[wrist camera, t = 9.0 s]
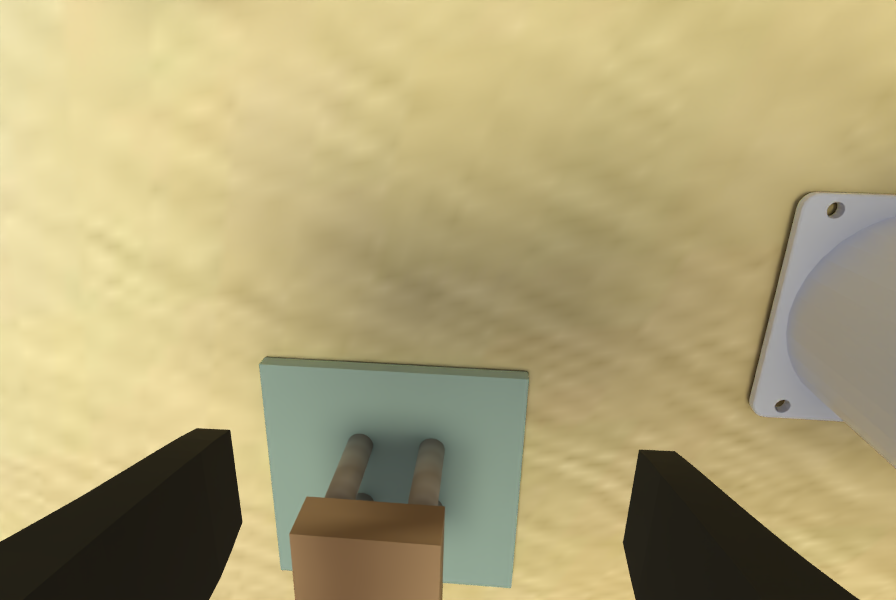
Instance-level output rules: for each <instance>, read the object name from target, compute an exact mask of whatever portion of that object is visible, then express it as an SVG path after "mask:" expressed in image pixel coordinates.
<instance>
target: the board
mask: <svg viewBox="0 0 896 600" xmlns="http://www.w3.org/2000/svg"><path fill="white" fill-rule="evenodd" d="M259 368H260V377H261V387H262V396H263V405H264V415H265V424H266V434H267V443H268V452H269V462H270V471H271V481H272V490H273V499H274V509H275V518H276V528H277V537H278V546H279V556H280V565H281V570H289V571H293V570H292V559H291V549H290V538H289V533H290V531H291V529H292V527H293V525H294V522H295V520H296V518H297V516H298V514H299V512H300V509H301V507H302V505H303V503H304V501H305V499H306V497H307V496H308V497H322V498H324V497H325V495H326V493H327V490H328V488H329V485H330V483H331V481H332V478H333V476H334V473H335V471H336V469H337V466H338V464H339V461H340V459H341V457H342V454H343V452H344V449H345V447H346V445H347V442H348V440H349V438H350V437H351V436H352V435H354V434H364V435H366V436H368V437H369V438H370V439H371V440H372V442H373V449H372V452H371V455H370V458H369V461H368V464H367V467H366V470H365V473H364V476H363V479H362V482H361V485H360V488H359V490H358V493H366V494H368V495H370V496H371V497H372V498H373V500H374V501H377V502H390V503H404V504H408V500H409V495H410V490H411V485H412V480H413V475H414V470H415V465H416V460H417V456H418V451H419V446H420V444H421V443H422V442H423V441H424V440H426V439H430V438H433V439H437V440H439V441H440V442H441V443H442V444H443V445H444V447H445V453H444V461H443V469H442V476H441V484H440V492H439V501H440V502H441V503H442V505H443V506H445V525H444V557H443V583H453V584H466V585H478V586H491V587H503V588H511V583H512V572H513V560H514V548H515V536H516V525H517V513H518V501H519V490H520V478H521V466H522V454H523V443H524V431H525V419H526V408H527V396H528V384H529V377H528V372H523V371H505V370H487V369H469V368H451V367H433V366H415V365H397V364H379V363H361V362H343V361H325V360H307V359H289V358H271V357H265V358H264V359H263V360H262V362H261V363H260V364H259Z"/></svg>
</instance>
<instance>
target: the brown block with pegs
mask: <svg viewBox="0 0 896 600" xmlns="http://www.w3.org/2000/svg"><path fill="white" fill-rule="evenodd" d="M372 449H373V442H372V440H371V439H370V438H369V437H368V436H366V435H364V434H354V435H352V436H351V437H350V438H349V440H348V442H347V445H346V447H345V449H344V452H343V454H342V457H341V459H340V461H339V464H338V466H337V469H336V471H335V473H334V476H333V478H332V481H331V483H330V485H329V488H328V490H327V493H326V495H325V497H324V498H322V497H308V496H307V497H306V499H305V501H304V503H303V505H302V507H301V509H300V512H299V514H298V516H297V518H296V520H295V522H294V525H293V527H292V529H291V531H290V533H289V538H290V549H291V559H292V570H293V581H294V592H295V600H442V588H443V557H444V525H445V506H443V505H442V503H441V502H440V501H439V492H440V484H441V476H442V469H443V461H444V453H445V447H444V445H443V444H442V443H441V442H440V441H439V440H437V439H433V438H430V439H426V440H424V441H423V442H422V443H421V444H420V446H419V451H418V456H417V460H416V465H415V470H414V475H413V480H412V485H411V490H410V495H409V500H408V504H404V503H390V502H377V501H374V500H373V498H372V497H371V496H370V495H368V494H366V493H358V490H359V488H360V485H361V482H362V479H363V476H364V473H365V470H366V467H367V464H368V461H369V458H370V455H371V452H372Z"/></svg>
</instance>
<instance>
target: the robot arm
mask: <svg viewBox="0 0 896 600" xmlns="http://www.w3.org/2000/svg"><path fill="white" fill-rule="evenodd" d="M834 202H836V203H837V210H836V212H835V213H834V214H832V215H830V216H828V215H827V209H828V207H829V206H830V205H831V204H832V203H834ZM780 400H785V402H784V403H783V404H782V405H781V406H779V407H775V405H776V403H777V402H779V401H780ZM749 405H750V407H751V409H752V410H753V411H754V412H755V413H756V414H758V415H759V416H763V417H775V418H792V419H809V420H826V421H843V422H845V423H846V424H847V425H848V426H849V427H851V428H852V429H853V430H854V431H855V432H856V433H857V434H858V435H859V436H860V437H862V438H863V439H864V440H865V441H866V442H867V443H868V444H869V445H870V446H871V447H873V448H874V449H875V450H876V451H877V452H878V453H879V454H880V455H881V456H882V457H884V458H885V459H886V460H887V461H888V462H889V463H890V464H891V465H892V466H893V467H895V468H896V195H895V194H867V193H838V192H812V193H809V194H807V195H805V196H804V197H803V198H802V199H801V200H800V201H799V203H798V205H797V208H796V212H795V216H794V220H793V224H792V228H791V232H790V237H789V241H788V245H787V249H786V253H785V257H784V261H783V265H782V269H781V273H780V277H779V281H778V285H777V289H776V293H775V297H774V301H773V306H772V310H771V314H770V318H769V322H768V326H767V330H766V334H765V338H764V342H763V346H762V350H761V354H760V358H759V362H758V366H757V370H756V374H755V379H754V383H753V387H752V391H751V395H750V399H749ZM241 525H242V515H241V508H240V500H239V493H238V485H237V478H236V470H235V463H234V455H233V447H232V440H231V432H230V430H220V429H200V428H196V429H195V430H193V431H191V432H189V433H187V434H185V435H183V436H181V437H179V438H178V439H176V440H174V441H173V442H171V443H169V444H167V445H166V446H164V447H162V448H161V449H159V450H157V451H156V452H154V453H152V454H151V455H149V456H147V457H146V458H144V459H143V460H141V461H139V462H138V463H136V464H134V465H133V466H131V467H129V468H128V469H126V470H124V471H123V472H121V473H119V474H118V475H116V476H114V477H113V478H111V479H109V480H108V481H106V482H104V483H103V484H101V485H99V486H98V487H96V488H95V489H93V490H91V491H90V492H88V493H86V494H85V495H83V496H81V497H79V498H78V499H76V500H74V501H72V502H71V503H69V504H67V505H65V506H63V507H62V508H60V509H58V510H56V511H55V512H53V513H51V514H49V515H47V516H46V517H44V518H42V519H40V520H39V521H37V522H35V523H33V524H31V525H30V526H28V527H26V528H24V529H22V530H21V531H19V532H17V533H15V534H14V535H12V536H10V537H8V538H6V539H5V540H3V541H1V542H0V600H209V599H210V597H211V595H212V593H213V591H214V589H215V587H216V585H217V583H218V582H219V580H220V578H221V575H222V573H223V570H224V568H225V566H226V563H227V561H228V558H229V556H230V553H231V551H232V548H233V546H234V543H235V540H236V538H237V535H238V532H239V530H240V527H241ZM623 545H624V550H625V554H626V559H627V564H628V568H629V573H630V578H631V582H632V586H633V590H634V594H635V599H636V600H859V599H858V598H856V597H855V596H853V595H852V594H851V593H849V592H848V591H847V590H845V589H844V588H843V587H841V586H840V585H839V584H837V583H836V582H835V581H833V580H832V579H831V578H829V577H828V576H827V575H825V574H824V573H823V572H821V571H820V570H819V569H818V568H816V567H815V566H814V565H812V564H811V563H810V562H808V561H807V560H806V559H804V558H803V557H802V556H801V555H799V554H798V553H797V552H796V551H794V550H793V549H792V548H790V547H789V546H788V545H787V544H785V543H784V542H783V541H782V540H780V539H779V538H778V537H777V536H776V535H774V534H773V533H772V532H771V531H769V530H768V529H767V528H766V527H765V526H763V525H762V524H761V523H760V522H759V521H757V520H756V519H755V518H754V517H752V516H751V515H750V514H749V513H748V512H747V511H745V510H744V509H743V508H742V507H741V506H739V505H738V504H737V503H736V502H735V501H734V500H732V499H731V498H730V497H729V496H728V495H727V494H725V493H724V492H723V491H722V490H721V489H720V488H718V487H717V486H716V485H715V484H714V483H713V482H711V481H710V480H709V479H708V478H707V477H706V476H704V475H703V474H702V473H701V472H700V471H699V470H697V469H696V468H695V467H694V466H693V465H691V464H690V463H689V462H688V461H687V460H685V459H684V458H683V457H682V456H680V455H679V454H678V453H676V452H675V451H656V450H639V453H638V459H637V465H636V471H635V476H634V482H633V488H632V494H631V500H630V505H629V511H628V517H627V523H626V528H625V534H624V540H623Z"/></svg>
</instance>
